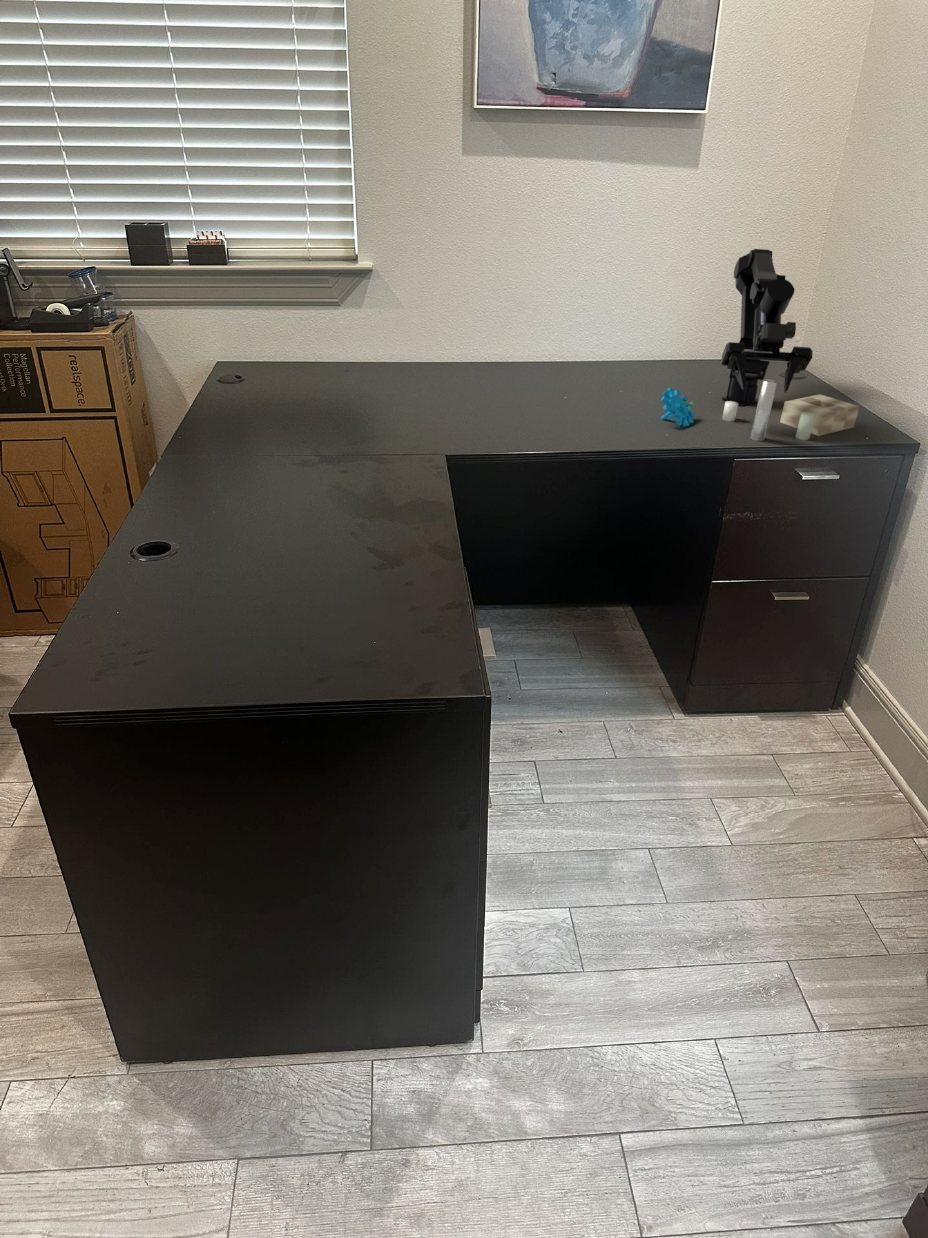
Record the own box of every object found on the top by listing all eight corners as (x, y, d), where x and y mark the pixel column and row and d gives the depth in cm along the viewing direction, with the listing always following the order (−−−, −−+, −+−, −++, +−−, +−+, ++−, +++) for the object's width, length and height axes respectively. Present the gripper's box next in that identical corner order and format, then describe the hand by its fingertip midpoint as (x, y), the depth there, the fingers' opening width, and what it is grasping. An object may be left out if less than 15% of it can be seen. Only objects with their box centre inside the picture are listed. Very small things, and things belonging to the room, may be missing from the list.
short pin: (719, 418, 200) (722, 402, 198) (728, 416, 202) (731, 400, 200) (729, 422, 198) (732, 405, 196) (737, 420, 200) (741, 403, 197)
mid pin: (792, 436, 190) (798, 413, 187) (801, 434, 192) (807, 411, 189) (803, 440, 188) (809, 416, 185) (812, 438, 189) (818, 415, 187)
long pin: (747, 437, 189) (759, 380, 182) (756, 435, 190) (769, 378, 183) (758, 441, 186) (770, 383, 180) (767, 439, 188) (780, 382, 181)
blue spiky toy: (676, 425, 190) (659, 386, 191) (657, 437, 194) (641, 400, 196) (705, 422, 197) (688, 385, 198) (686, 435, 201) (670, 398, 203)
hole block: (779, 422, 199) (784, 401, 196) (814, 414, 205) (819, 394, 203) (818, 435, 191) (824, 414, 189) (853, 427, 197) (859, 406, 195)
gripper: (733, 304, 183) (730, 367, 179) (821, 309, 181) (819, 373, 177) (722, 333, 193) (719, 394, 190) (805, 338, 191) (803, 399, 188)
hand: (764, 390), depth 186 cm, fingers open, 9 cm apart
